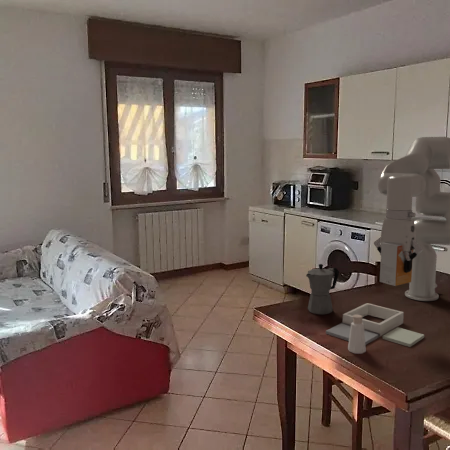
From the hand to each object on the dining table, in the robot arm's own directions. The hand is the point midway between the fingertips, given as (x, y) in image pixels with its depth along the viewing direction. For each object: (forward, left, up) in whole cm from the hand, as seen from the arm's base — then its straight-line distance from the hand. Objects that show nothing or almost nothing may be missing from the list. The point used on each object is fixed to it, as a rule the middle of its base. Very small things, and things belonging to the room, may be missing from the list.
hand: (396, 269), depth 152 cm
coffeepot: (-3, -30, -22) cm, 37 cm away
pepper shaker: (+19, -2, -22) cm, 29 cm away
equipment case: (+2, -9, -22) cm, 24 cm away
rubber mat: (+1, +4, -22) cm, 22 cm away
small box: (0, 0, -5) cm, 5 cm away
